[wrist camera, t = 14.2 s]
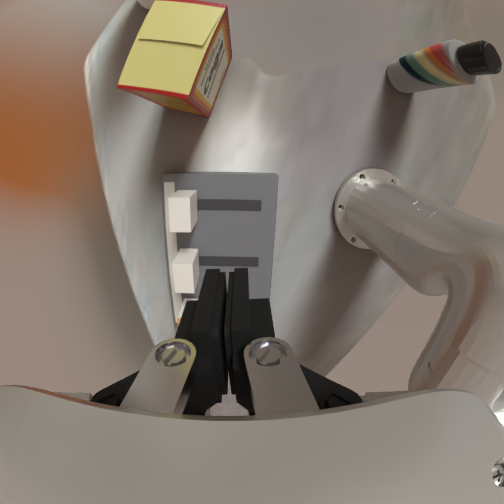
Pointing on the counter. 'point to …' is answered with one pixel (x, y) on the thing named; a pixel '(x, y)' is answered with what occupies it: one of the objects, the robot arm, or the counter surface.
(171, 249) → the panel
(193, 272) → the handle mid
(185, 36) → the baking soda box
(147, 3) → the alcohol
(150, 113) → the counter surface
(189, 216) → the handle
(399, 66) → the lotion bottle
